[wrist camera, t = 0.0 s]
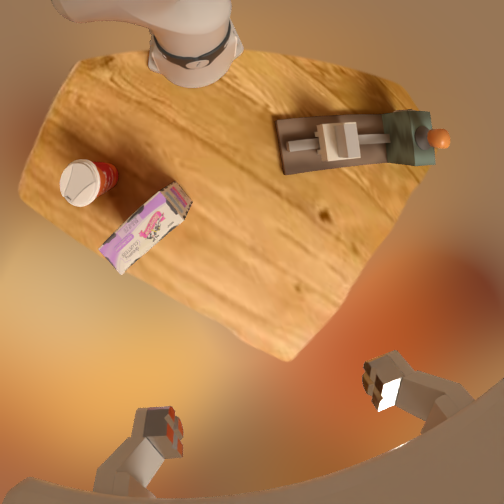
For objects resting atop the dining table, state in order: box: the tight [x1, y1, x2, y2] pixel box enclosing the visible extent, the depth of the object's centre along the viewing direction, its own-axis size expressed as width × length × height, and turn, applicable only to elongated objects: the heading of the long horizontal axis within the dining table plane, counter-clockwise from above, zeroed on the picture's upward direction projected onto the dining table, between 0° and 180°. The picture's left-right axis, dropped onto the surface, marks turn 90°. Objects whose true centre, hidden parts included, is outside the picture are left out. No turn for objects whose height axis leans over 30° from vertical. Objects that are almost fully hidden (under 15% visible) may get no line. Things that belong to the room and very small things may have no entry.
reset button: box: [427, 129, 450, 148], centre depth 40 cm, size 4×4×3 cm
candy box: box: [98, 181, 192, 275], centre depth 46 cm, size 14×6×16 cm, turn 126°
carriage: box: [314, 122, 361, 161], centre depth 48 cm, size 7×7×9 cm
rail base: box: [275, 109, 435, 175], centre depth 49 cm, size 12×30×12 cm, turn 100°
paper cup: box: [60, 159, 118, 207], centre depth 43 cm, size 8×8×14 cm
